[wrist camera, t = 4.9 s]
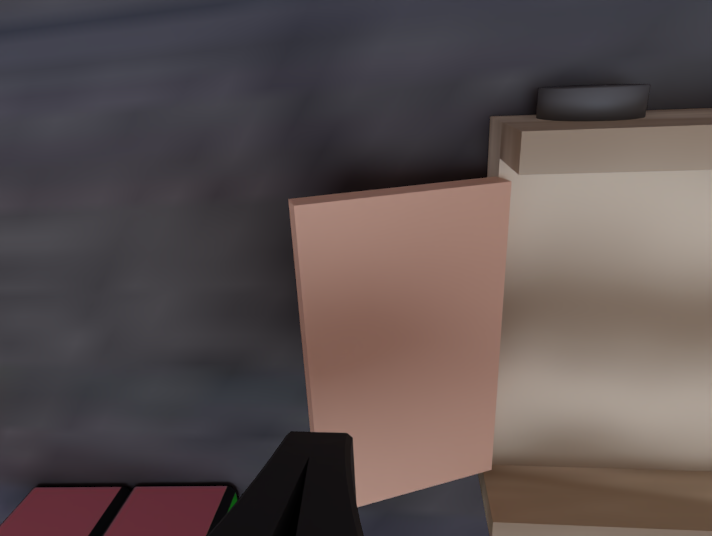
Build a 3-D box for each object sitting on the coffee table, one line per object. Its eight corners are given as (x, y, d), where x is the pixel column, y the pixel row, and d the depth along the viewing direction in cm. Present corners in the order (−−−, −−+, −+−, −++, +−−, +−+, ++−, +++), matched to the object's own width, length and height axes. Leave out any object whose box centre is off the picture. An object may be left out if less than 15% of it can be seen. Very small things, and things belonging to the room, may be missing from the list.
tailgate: (511, 181, 13) (293, 205, 12) (491, 469, 17) (322, 517, 16) (495, 176, 14) (288, 198, 13) (479, 454, 18) (316, 497, 16)
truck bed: (785, 472, 19) (940, 634, 14) (472, 463, 20) (498, 608, 15) (923, 70, 14) (1264, 67, 8) (491, 89, 15) (542, 97, 10)
